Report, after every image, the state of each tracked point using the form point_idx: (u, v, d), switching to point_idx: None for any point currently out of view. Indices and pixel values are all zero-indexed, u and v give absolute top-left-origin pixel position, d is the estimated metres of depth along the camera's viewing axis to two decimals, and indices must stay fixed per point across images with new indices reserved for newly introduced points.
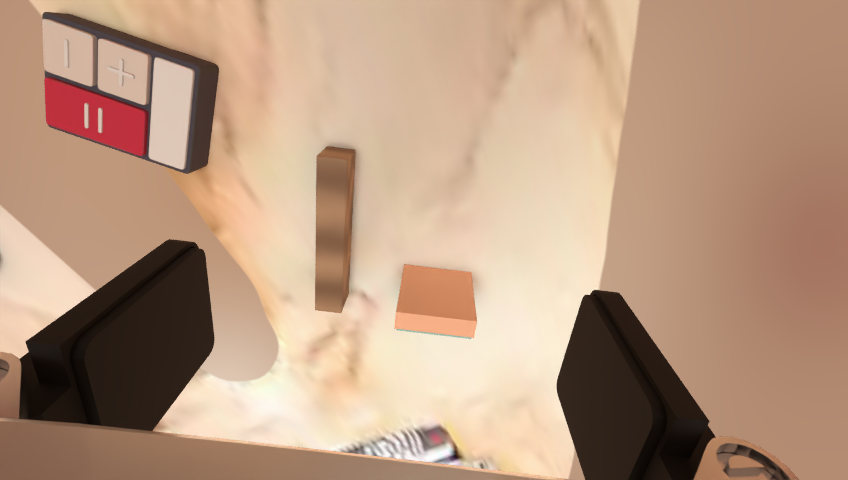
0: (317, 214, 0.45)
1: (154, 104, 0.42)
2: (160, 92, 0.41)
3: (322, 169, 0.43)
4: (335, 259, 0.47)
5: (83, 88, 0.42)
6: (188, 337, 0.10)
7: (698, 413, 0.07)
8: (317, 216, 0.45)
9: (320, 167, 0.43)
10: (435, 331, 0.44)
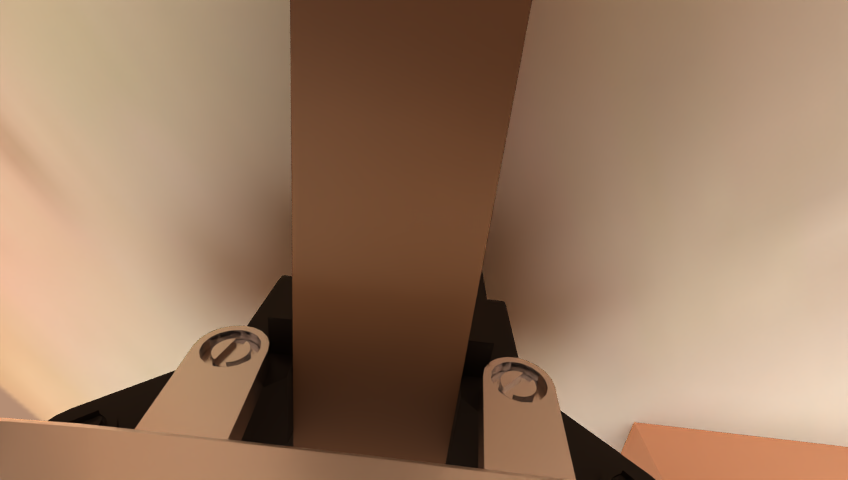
0: (298, 263, 0.07)
1: None
2: None
3: None
4: None
5: None
6: None
7: (487, 337, 0.08)
8: (301, 274, 0.07)
9: None
10: None
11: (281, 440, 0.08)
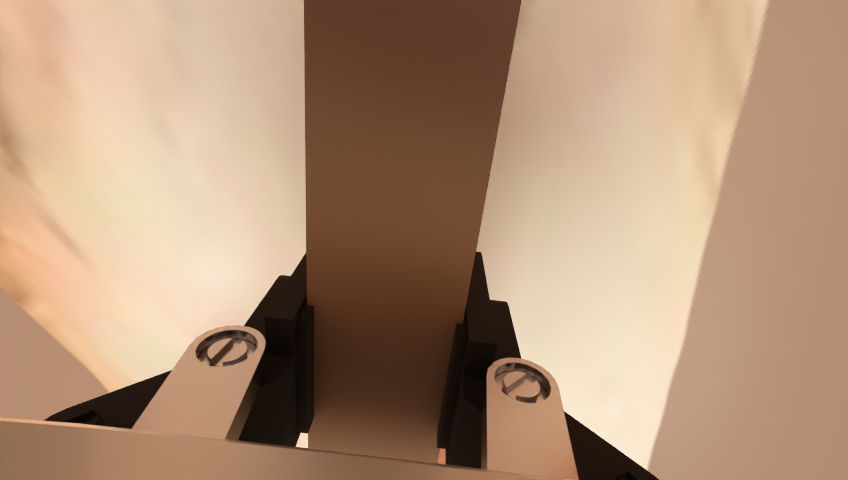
0: (312, 252, 0.08)
1: None
2: None
3: None
4: (403, 453, 0.10)
5: None
6: None
7: (491, 338, 0.08)
8: (314, 261, 0.08)
9: None
10: None
11: (278, 440, 0.08)
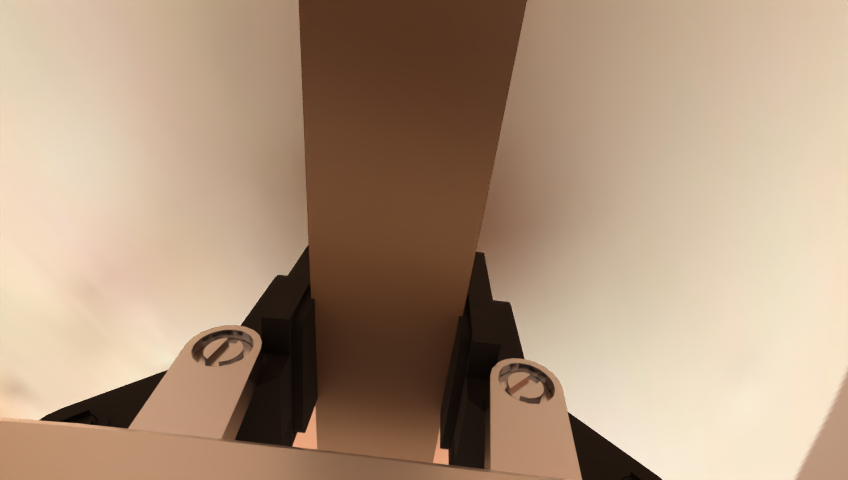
0: (314, 257, 0.08)
1: None
2: None
3: None
4: (405, 433, 0.11)
5: None
6: None
7: (495, 339, 0.08)
8: (317, 265, 0.08)
9: None
10: None
11: (274, 440, 0.08)
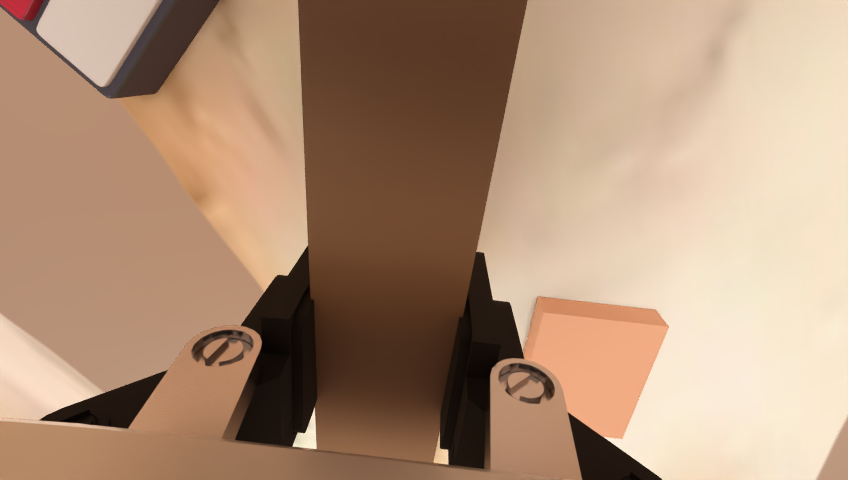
0: (314, 260, 0.08)
1: None
2: None
3: None
4: (405, 436, 0.11)
5: None
6: None
7: (495, 338, 0.08)
8: (316, 269, 0.08)
9: None
10: None
11: (274, 440, 0.08)
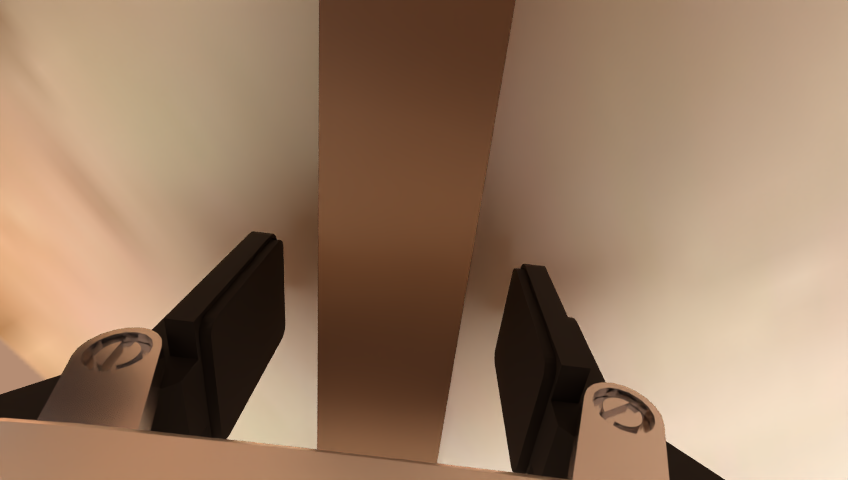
0: (324, 236, 0.08)
1: None
2: None
3: None
4: (408, 431, 0.10)
5: None
6: (270, 321, 0.11)
7: (582, 361, 0.07)
8: (325, 245, 0.08)
9: None
10: None
11: None
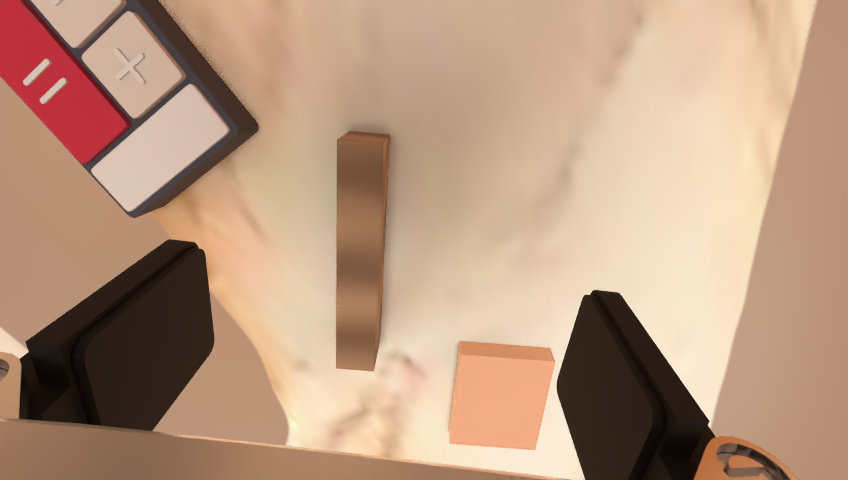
0: (338, 229, 0.30)
1: (147, 126, 0.29)
2: (167, 120, 0.29)
3: (346, 160, 0.29)
4: (366, 294, 0.32)
5: (58, 38, 0.28)
6: (188, 337, 0.10)
7: (697, 412, 0.07)
8: (338, 232, 0.30)
9: (342, 157, 0.29)
10: None
11: None
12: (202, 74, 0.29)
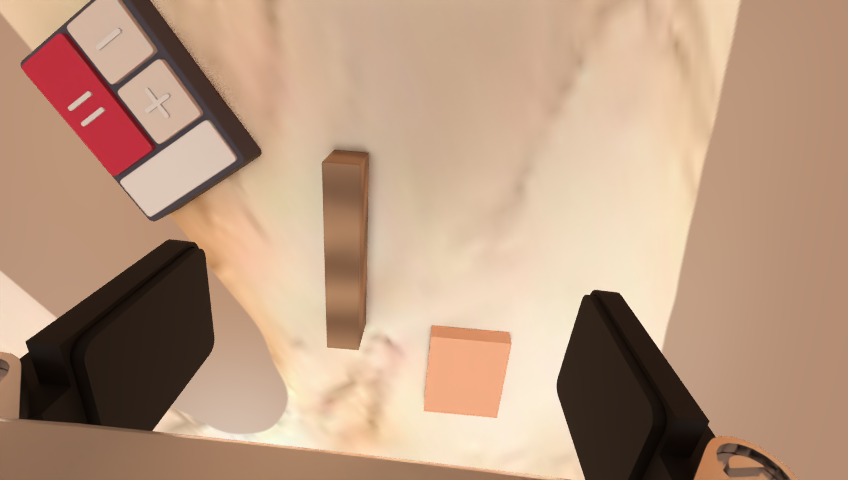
0: (325, 234, 0.37)
1: (169, 150, 0.35)
2: (186, 147, 0.35)
3: (329, 178, 0.34)
4: (350, 287, 0.39)
5: (99, 74, 0.33)
6: (188, 337, 0.10)
7: (698, 412, 0.07)
8: (325, 236, 0.37)
9: (327, 176, 0.34)
10: None
11: None
12: (216, 111, 0.35)
